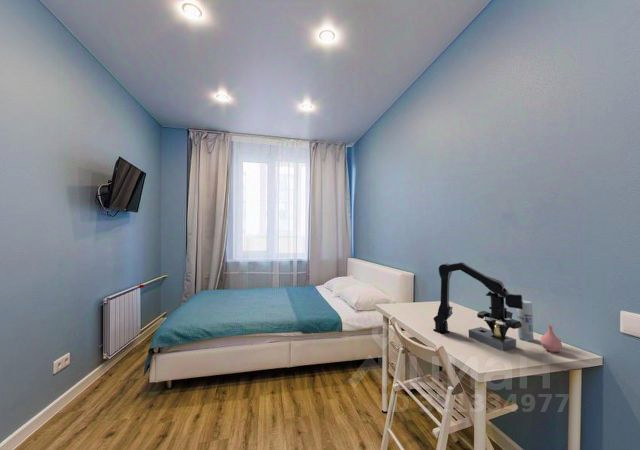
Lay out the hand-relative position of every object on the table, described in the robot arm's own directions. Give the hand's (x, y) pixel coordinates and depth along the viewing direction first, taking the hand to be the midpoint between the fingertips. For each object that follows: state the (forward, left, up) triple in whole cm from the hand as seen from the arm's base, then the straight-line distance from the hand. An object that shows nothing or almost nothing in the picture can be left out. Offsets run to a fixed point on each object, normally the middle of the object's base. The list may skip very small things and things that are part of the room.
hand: (498, 336), depth 126 cm
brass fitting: (0, 0, -2) cm, 2 cm away
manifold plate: (0, +4, -4) cm, 6 cm away
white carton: (+20, -1, -5) cm, 21 cm away
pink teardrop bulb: (+16, -14, -5) cm, 22 cm away
